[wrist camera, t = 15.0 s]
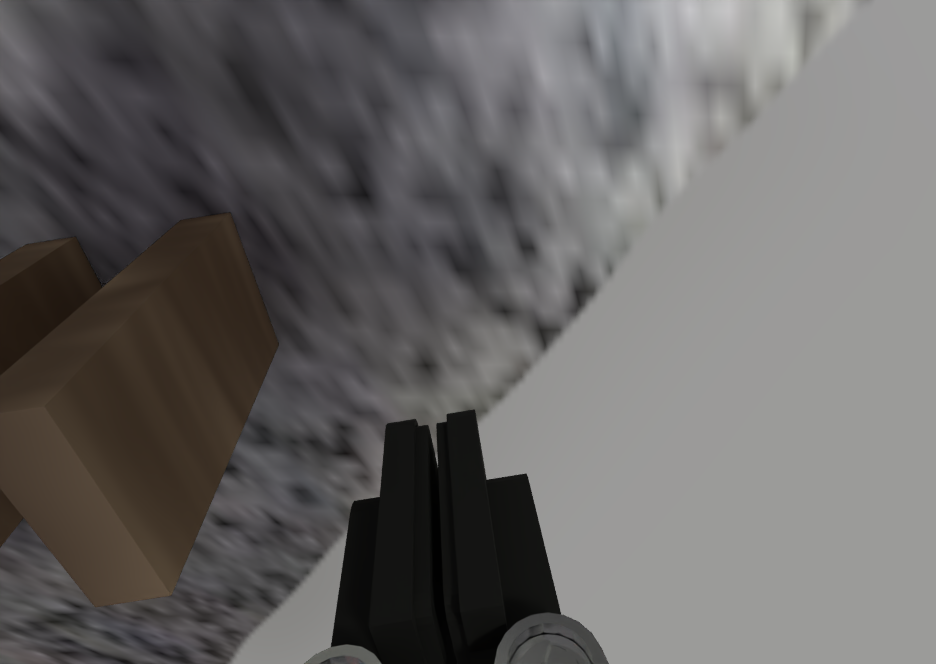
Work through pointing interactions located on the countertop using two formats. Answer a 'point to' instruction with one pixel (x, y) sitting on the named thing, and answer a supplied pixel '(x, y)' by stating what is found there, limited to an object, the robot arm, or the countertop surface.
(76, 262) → the walnut domino
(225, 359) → the walnut domino
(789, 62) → the countertop surface
